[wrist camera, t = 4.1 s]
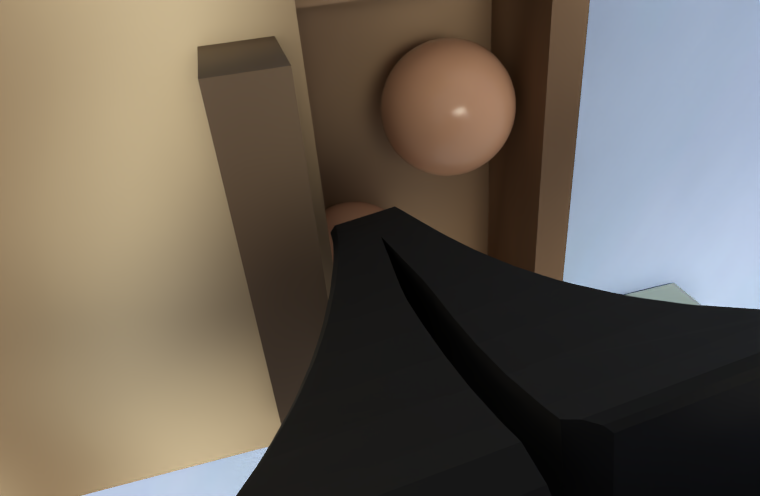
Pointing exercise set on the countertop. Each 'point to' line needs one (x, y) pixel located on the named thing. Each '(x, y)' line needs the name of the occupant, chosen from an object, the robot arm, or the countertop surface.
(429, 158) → the marble
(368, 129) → the walnut box
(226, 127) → the lid
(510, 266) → the robot arm
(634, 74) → the countertop surface
